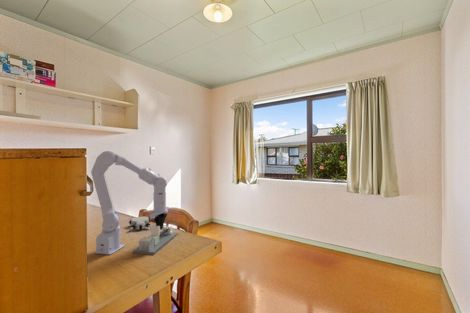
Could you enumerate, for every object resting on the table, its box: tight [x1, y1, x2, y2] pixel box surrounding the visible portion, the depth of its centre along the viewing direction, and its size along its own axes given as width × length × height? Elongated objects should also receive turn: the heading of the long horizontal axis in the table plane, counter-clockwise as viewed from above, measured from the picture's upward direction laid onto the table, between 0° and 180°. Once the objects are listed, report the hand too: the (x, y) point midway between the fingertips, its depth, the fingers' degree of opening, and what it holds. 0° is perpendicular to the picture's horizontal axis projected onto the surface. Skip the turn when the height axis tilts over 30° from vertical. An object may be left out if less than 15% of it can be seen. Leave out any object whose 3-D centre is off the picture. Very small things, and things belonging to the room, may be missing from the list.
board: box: [132, 225, 179, 255], centre depth 108 cm, size 24×10×5 cm, turn 170°
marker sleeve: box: [147, 225, 161, 245], centre depth 104 cm, size 5×4×7 cm
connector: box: [138, 236, 154, 251], centre depth 99 cm, size 5×5×4 cm
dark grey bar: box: [159, 227, 168, 237], centre depth 107 cm, size 20×1×1 cm, turn 170°
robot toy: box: [128, 216, 152, 231], centre depth 131 cm, size 12×4×15 cm
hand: (159, 229), depth 110 cm, fingers closed
